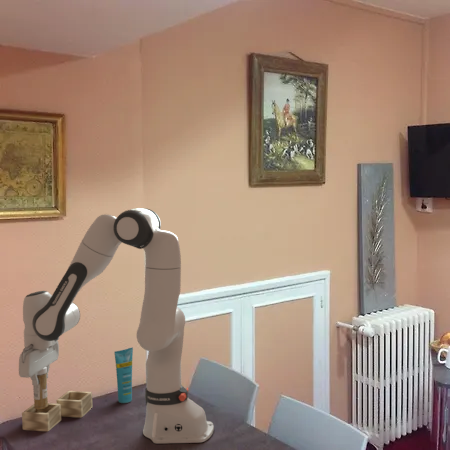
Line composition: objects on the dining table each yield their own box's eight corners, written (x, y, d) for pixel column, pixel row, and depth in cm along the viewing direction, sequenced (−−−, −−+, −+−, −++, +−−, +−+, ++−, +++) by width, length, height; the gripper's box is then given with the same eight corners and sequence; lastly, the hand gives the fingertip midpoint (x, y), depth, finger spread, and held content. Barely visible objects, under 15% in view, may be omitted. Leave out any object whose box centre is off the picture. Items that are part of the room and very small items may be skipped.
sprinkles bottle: (49, 407, 194) (48, 367, 193) (35, 410, 191) (34, 370, 190) (45, 403, 198) (44, 364, 197) (32, 406, 195) (30, 366, 194)
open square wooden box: (61, 420, 198) (60, 403, 198) (48, 431, 190) (47, 414, 189) (36, 418, 200) (35, 402, 200) (22, 429, 191) (21, 412, 191)
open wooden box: (92, 407, 209) (91, 392, 209) (81, 417, 200) (81, 401, 200) (68, 406, 211) (68, 390, 210) (57, 416, 202) (56, 400, 202)
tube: (120, 405, 210) (118, 352, 209) (112, 402, 214) (110, 350, 212) (137, 399, 216) (135, 348, 214) (129, 396, 219) (128, 345, 218)
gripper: (30, 350, 182) (33, 393, 183) (61, 333, 202) (63, 372, 203) (12, 349, 183) (14, 392, 184) (44, 332, 203) (46, 371, 204)
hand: (40, 382), depth 194 cm, fingers closed on sprinkles bottle, 4 cm apart
